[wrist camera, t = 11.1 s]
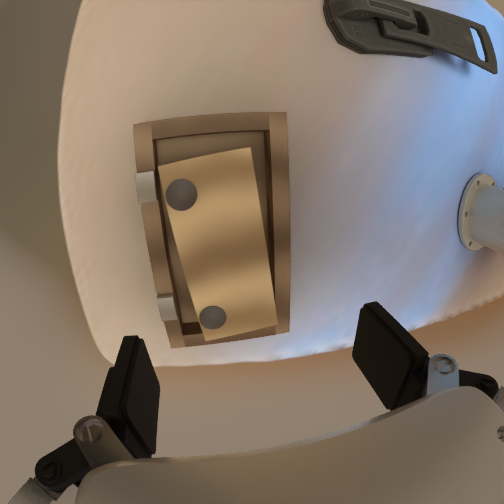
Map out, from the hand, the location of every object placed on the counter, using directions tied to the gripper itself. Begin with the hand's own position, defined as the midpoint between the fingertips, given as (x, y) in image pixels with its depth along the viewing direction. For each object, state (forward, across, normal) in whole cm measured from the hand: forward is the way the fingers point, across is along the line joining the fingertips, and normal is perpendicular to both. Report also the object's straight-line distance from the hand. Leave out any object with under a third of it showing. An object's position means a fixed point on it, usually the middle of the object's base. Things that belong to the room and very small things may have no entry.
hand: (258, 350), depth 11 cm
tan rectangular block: (+16, 0, 0) cm, 16 cm away
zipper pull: (+18, -24, -24) cm, 38 cm away
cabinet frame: (+17, +1, 0) cm, 17 cm away
